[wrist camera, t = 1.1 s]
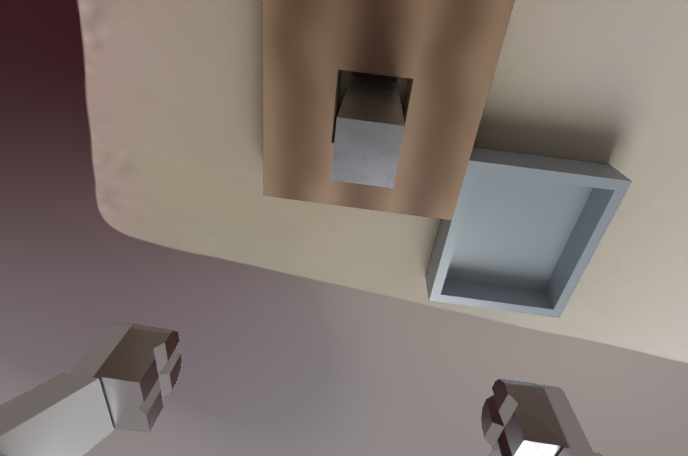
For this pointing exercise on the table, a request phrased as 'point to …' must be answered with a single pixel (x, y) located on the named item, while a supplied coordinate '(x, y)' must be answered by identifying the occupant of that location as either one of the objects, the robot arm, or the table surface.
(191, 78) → the table surface
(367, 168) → the pin
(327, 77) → the block
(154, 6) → the table surface
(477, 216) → the tray
